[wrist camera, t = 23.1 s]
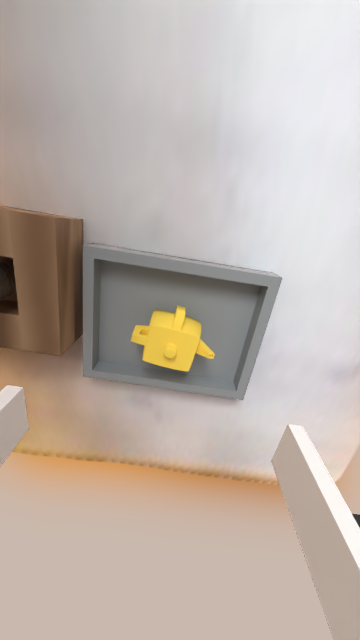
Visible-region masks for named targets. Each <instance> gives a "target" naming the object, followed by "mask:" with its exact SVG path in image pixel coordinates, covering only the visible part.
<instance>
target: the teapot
mask: <svg viewBox="0 0 360 640" xmlns="http://www.w3.org/2000/svg"><path fill="white" fill-rule="evenodd" d="M185 310H186V308H185V307H182V306H177V309H176V312H175V313H173V312H168V311H163V310H155V311H154V312H153V314H152V317H151V321H150V324H149V326H142V325H136V326H135V328H134V331H133V333H132V338H131V341H132V342H135V343H138V344H141V345H144V350H143V359H142V360H144V361H146V362H149V363H152V364H155V365H159V366H163V367H166V368H171V369H175V370H180V371H189V370H190V367H191V364H192V362H193V359H194V356H195V353H196V354H199V355H201V356H204V357H207V358H209V359H214V356H215V354H214V353H213V352H212V350H211V349H210V348H209V347H208V346H207V345H206V344H205V343H204V342H203V341H202V340H201V339H200V336H201V323H200V321H198V320H196V319H193V318H190V317H187V316H185Z"/></svg>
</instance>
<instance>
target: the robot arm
mask: <svg viewBox="0 0 360 640" xmlns="http://www.w3.org/2000/svg"><path fill="white" fill-rule="evenodd" d="M28 429H29V424H28V417H27V410H26V402H25V395H24V388H23V387H18V386H11V385H7V386H6V387H5V388H3V389H2V390H1V391H0V467H1V465H2V464H3V463H4V461H5V460H6V459H7V457H8V456H9V455H10V453H11V452H12V451H13V449H14V448H15V447H16V445H17V444H18V443H19V441H20V440H21V439H22V437H23V436H24V435H25V433H26V432H27V431H28ZM271 462H272V465H273V467H274V470H275V473H276V476H277V479H278V482H279V485H280V487H281V490H282V493H283V496H284V499H285V502H286V505H287V508H288V510H289V513H290V516H291V519H292V522H293V525H294V528H295V530H296V534H297V536H298V539H299V542H300V545H301V548H302V551H303V553H304V557H305V559H306V562H307V565H308V568H309V571H310V574H311V577H312V580H313V582H314V585H315V588H316V591H317V594H318V597H319V600H320V602H321V605H322V608H323V611H324V614H325V617H326V620H327V623H328V626H329V629H330V631H331V634H332V637H333V640H360V515H357V514H352V513H351V512H350V510H349V508H348V506H347V505H346V503H345V501H344V499H343V497H342V495H341V494H340V492H339V490H338V488H337V486H336V485H335V483H334V481H333V479H332V478H331V476H330V474H329V472H328V470H327V469H326V467H325V465H324V463H323V461H322V460H321V458H320V456H319V454H318V452H317V451H316V449H315V447H314V445H313V443H312V442H311V440H310V438H309V436H308V434H307V433H306V431H305V429H304V427H303V426H298V425H291V424H288V425H287V427H286V430H285V432H284V434H283V436H282V438H281V441H280V443H279V445H278V447H277V449H276V451H275V454H274V456H273V458H272V460H271Z"/></svg>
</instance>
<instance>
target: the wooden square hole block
mask: <svg viewBox="0 0 360 640" xmlns="http://www.w3.org/2000/svg"><path fill="white" fill-rule="evenodd" d="M3 259H10V260H13V264H14V273H15V282H16V291H17V293H16V294H14V295H11V296H9V297H6V298H4V299H1V300H0V347H4V348H10V349H17V350H24V351H30V352H37V353H44V354H50V355H57V356H61V355H62V354H63V353H64V352H65V351H66V350H67V349H68V348H69V347H70V346H71V345H72V344H73V343H74V342H75V341H76V340H77V339H78V338H79V337H80V336H81V335H82V334H83V219H77V218H71V217H65V216H59V215H53V214H47V213H41V212H35V211H29V210H23V209H17V208H11V207H5V206H0V260H3Z"/></svg>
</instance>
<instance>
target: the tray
mask: <svg viewBox="0 0 360 640" xmlns="http://www.w3.org/2000/svg"><path fill="white" fill-rule="evenodd" d="M281 280H282V277H280V276H278V275H276V274H275V273H272V272H265V271H259V270H253V269H247V268H241V267H235V266H229V265H223V264H217V263H211V262H205V261H198V260H192V259H186V258H180V257H174V256H168V255H162V254H156V253H150V252H144V251H138V250H131V249H125V248H119V247H113V246H107V245H101V244H95V243H91V244H86V245H83V376H84V377H90V378H97V379H104V380H111V381H117V382H124V383H131V384H138V385H144V386H151V387H158V388H165V389H171V390H178V391H185V392H191V393H198V394H205V395H212V396H218V397H225V398H232V399H239V400H243V398H244V395H245V392H246V389H247V386H248V383H249V380H250V377H251V374H252V370H253V367H254V364H255V361H256V358H257V355H258V352H259V349H260V346H261V342H262V339H263V336H264V333H265V330H266V327H267V324H268V321H269V318H270V315H271V311H272V308H273V305H274V302H275V299H276V296H277V293H278V290H279V287H280V283H281ZM177 306H182V307H185V308H186V310H185V316H187V317H190V318H193V319H196V320H198V321H200V323H201V336H200V339H201V340H202V341H203V342H204V343H205V344H206V345H207V346H208V347H209V348H210V349H211V350H212V352H213V353H214V354H215V356H214V359H209V358H207V357H204V356H201V355H199V354H196V353H195V356H194V359H193V362H192V364H191V367H190V370H189V371H180V370H175V369H171V368H166V367H163V366H159V365H155V364H152V363H149V362H146V361H144V360H142V359H143V350H144V345H141V344H138V343H135V342H132V341H131V338H132V333H133V331H134V328H135V326H136V325H142V326H149V324H150V321H151V317H152V314H153V312H154V311H155V310H163V311H168V312H173V313H175V312H176V309H177Z"/></svg>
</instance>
